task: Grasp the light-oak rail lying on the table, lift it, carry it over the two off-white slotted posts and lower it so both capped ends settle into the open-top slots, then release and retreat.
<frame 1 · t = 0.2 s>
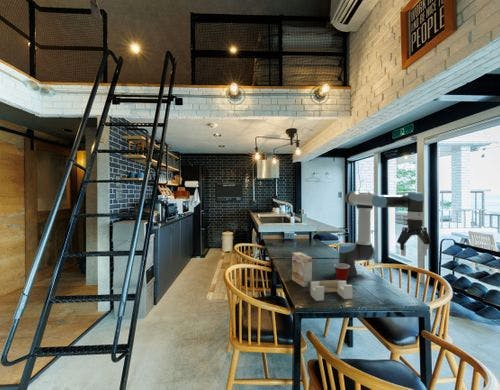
hand: (413, 255, 143), 28 cm above the table, fingers open, 13 cm apart
plastic cup: (341, 282, 175), on the table
rail: (324, 291, 159), on the table
head post: (317, 297, 149), on the table
foot post: (344, 296, 152), on the table
coffeecake box: (301, 282, 172), on the table
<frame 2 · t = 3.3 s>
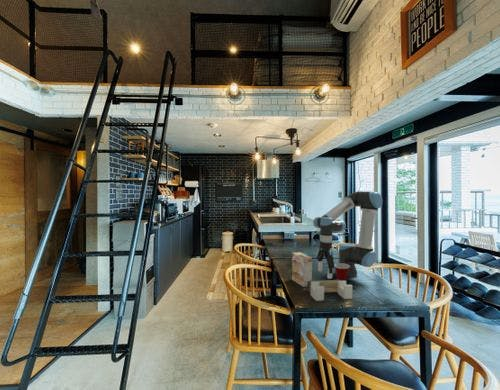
hand: (324, 274, 158), 11 cm above the table, fingers open, 13 cm apart
nothing on the table moved.
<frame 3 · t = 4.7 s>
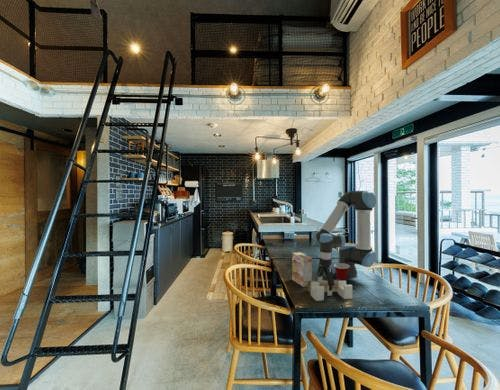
hand: (324, 290, 159), 0 cm above the table, fingers open, 13 cm apart
nothing on the table moved.
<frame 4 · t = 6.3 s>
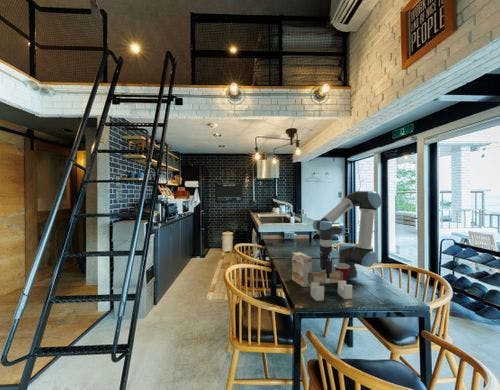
hand: (325, 281, 159), 6 cm above the table, fingers closed on rail, 4 cm apart
rail: (325, 281, 159), point 6 cm above the table, touching gripper
everything else where it was.
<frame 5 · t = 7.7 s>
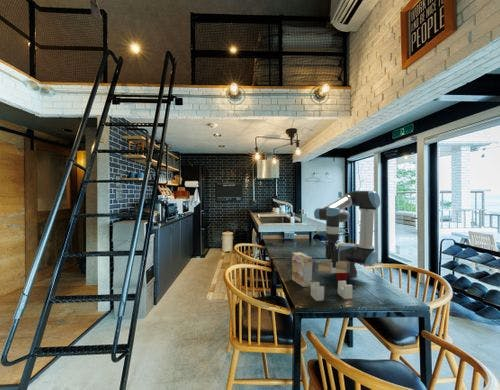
hand: (331, 271, 150), 16 cm above the table, fingers closed on rail, 4 cm apart
rail: (330, 271, 150), point 15 cm above the table, touching gripper
everything else where it was.
when the fingers open (5 cm above the table, at t = 9.2 s): rail stays where it is, resting on foot post, head post.
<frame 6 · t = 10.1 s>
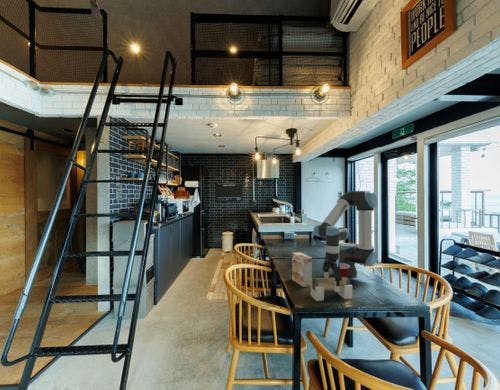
hand: (331, 286, 150), 6 cm above the table, fingers open, 13 cm apart
rail: (330, 288, 150), point 5 cm above the table, touching foot post, head post
everything else where it was.
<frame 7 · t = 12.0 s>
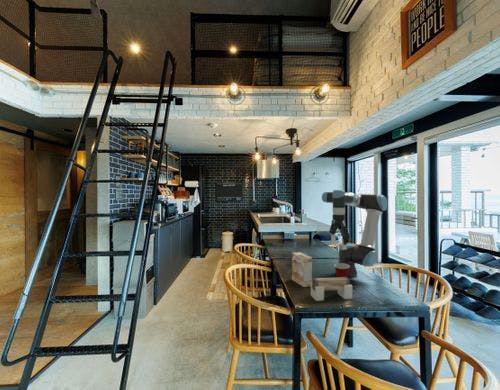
hand: (338, 246, 159), 29 cm above the table, fingers open, 13 cm apart
nothing on the table moved.
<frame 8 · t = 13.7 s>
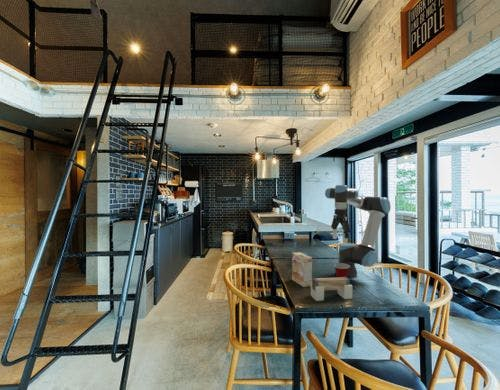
hand: (339, 240, 162), 32 cm above the table, fingers open, 13 cm apart
nothing on the table moved.
at the end: rail 0.4 cm from the target spot, point 5.0 cm above the table; rail tilted 0°; the gripper is holding nothing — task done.
